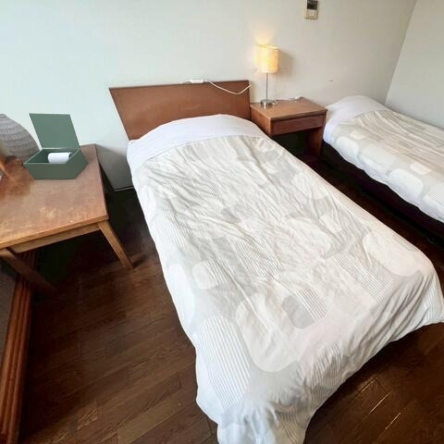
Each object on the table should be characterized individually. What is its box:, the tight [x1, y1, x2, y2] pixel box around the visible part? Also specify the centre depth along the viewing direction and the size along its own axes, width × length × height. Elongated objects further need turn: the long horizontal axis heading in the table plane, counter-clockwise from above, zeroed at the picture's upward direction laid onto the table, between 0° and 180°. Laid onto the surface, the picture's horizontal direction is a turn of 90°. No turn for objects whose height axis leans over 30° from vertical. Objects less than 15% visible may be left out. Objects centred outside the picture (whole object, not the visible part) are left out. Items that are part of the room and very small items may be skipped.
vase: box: [0, 113, 41, 164], centre depth 139 cm, size 13×13×28 cm
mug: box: [48, 152, 73, 163], centre depth 143 cm, size 12×10×8 cm
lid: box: [28, 112, 81, 149], centre depth 142 cm, size 18×20×5 cm
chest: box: [22, 148, 89, 181], centre depth 141 cm, size 18×20×10 cm
